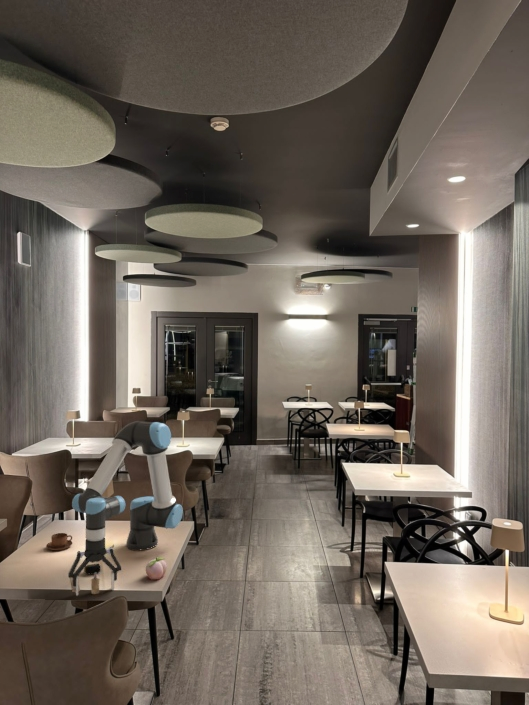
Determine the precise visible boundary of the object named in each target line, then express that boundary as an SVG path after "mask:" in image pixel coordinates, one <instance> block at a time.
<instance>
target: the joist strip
mask: <svg viewBox="0 0 529 705" xmlns="http://www.w3.org/2000/svg"><path fill="white" fill-rule="evenodd" d="M70 583H71V591H72V593H76V586H73V578H70ZM80 591H81V587H80V580H79V578H78V592H80Z"/></svg>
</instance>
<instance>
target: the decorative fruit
mask: <svg viewBox="0 0 529 705" xmlns="http://www.w3.org/2000/svg"><path fill="white" fill-rule="evenodd" d="M167 569H168V566H167V562H166V561H165V558H164V557H155V558H153V559H151V560H150V561H148V563H147V564H146V566H145V572H146V573H145V574H146V575H147V577H148V578H149V579H150V580H152V579H157V580H160V579H161V578H163V577H164V576H165V575H166V572H167Z"/></svg>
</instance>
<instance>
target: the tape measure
mask: <svg viewBox="0 0 529 705" xmlns="http://www.w3.org/2000/svg"><path fill="white" fill-rule="evenodd" d="M101 568H102V566H101V565H100V563H92V564H91V563H90V564H87V565H86V566H85V568H84V569H83V571H84V572H83V573H84V574H86V575H92V574H93V575H94V573H95V572H96V573H99V572H101V571H102V570H101Z"/></svg>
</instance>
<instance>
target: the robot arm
mask: <svg viewBox="0 0 529 705" xmlns="http://www.w3.org/2000/svg"><path fill="white" fill-rule="evenodd" d="M171 439H172V433H171V430H170V427H169V426H168V425H166V424H165V423H163V422H159V421H154V422H153V421H140V420H136V421H133V422H130V423H128V424H126V425H125V426H124V427H123V428H120V430H119V431H118V432H117V433H116V435H115V436H114V438H113V440H112V441H111V444H112V446H111V447H110V449H109V450H108V452H107V453H106V455H105V457H104V458H103V460H102V461H101V463H100V465H99V467H98V469H97V470H96V472H95V473H94V475H93V476H92V478H91V480H90V481H89V483H88V485H87V486H86V487H85V489H84V491H83V493H77V494H76V495H74V497H73V498H72V502H71V507H72V509H73V510H74V511H75V512H78V513H83V514H84V513H85V546H84V547H85V549H84V551H79V550H78V551H77V552H76V557H75V559H74V561H73V563H72V565H71V567H70V569H69V571H68V573H67V575H68V578H69V579H71V578H73V586H76V592H75V594H76V596H79V591H78V579H79V575H80V574H81V572H82V571H84V568H85V566H87V565H89V563H90V564H91V563H92V564H94V563H95V562H96V563H99V562H100V561H102V563H104V564H105V565H106V566H107V568H109V569H110V570H111V573H110V574H111V575H110V577H111V578H110V579H111V582H110V583H111V584H110V586H111V590H112V591H113V590H115V581H117V579H118V578H117V576H118V572H119V571H122V566H121V564H120V563H119V560H118V559H117V557H116V555H115V553H114V548H113V547H112V546H110V547H109V548H106V538H105V537H106V520H108V519H110V518H112V517H115V516H118V515H120V514H121V513H123V512H124V511H125V508H126V501H125V499H124V498H123V497H122V496H121V495H113V496H112V497H108V496H103V494H104V493H105V492H106V490H107V488H108V486H109V484H110V483H111V481H112V480H113V478H114V475H115V474H116V472H117V471H118V469H119V468H120V466H121V464H122V462H123V461H124V459H125V457H126V455H127V454H128V453H130V452H132V450H133V448H135V447H140V448H141V449H142V454H143V455H145V456H146V459H147V464H148V471H149V477H150V483H151V488H152V494H153V496H141V497H136V498H134V499H133V500H131V502H130V507H129V515H130V516H129V518H130V519H129V524H130V525H129V526H130V527H129V528H130V529H129V531H128V532H129V533H128V536H127V539H126V548H127V549H129V550H132V549H133V551H141V550H140V549H146V550H148V549H147V548H151V547H153V546H155V545H157V546H158V544H159V542H158V541H159V539H158V536H157V533H156V529H155V527H157V528H164V529H171V530H172V529H176V528H177V527H178V526H179V524H180V523H181V520H182V518H183V514H184V513H183V512H184V511H183V510H184V509H183V506H182V505H181V504H180V503H177V499H176V497H175V496H174V495H173V493H172V486H171V481H170V474H169V468H168V462H167V456H166V452H167V451H168V448H169V446H170V445H171ZM157 543H158V544H157ZM155 547H156V546H155ZM153 548H154V547H153ZM151 549H152V548H151ZM106 554H108V555H110V556H111V559H112V561H113V562H114V564H115V566H116V567H115V566H114V564H112V562H111V561H110V560H108V558H107V557H106V556H105V555H106ZM83 556H84V557H85V558H84V560H83V561H82V563H81V564H80V565H79V566H78V564H79V563H80V561H81V559H82V558H83ZM77 567H78V568H77ZM76 568H77V569H76Z"/></svg>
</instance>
